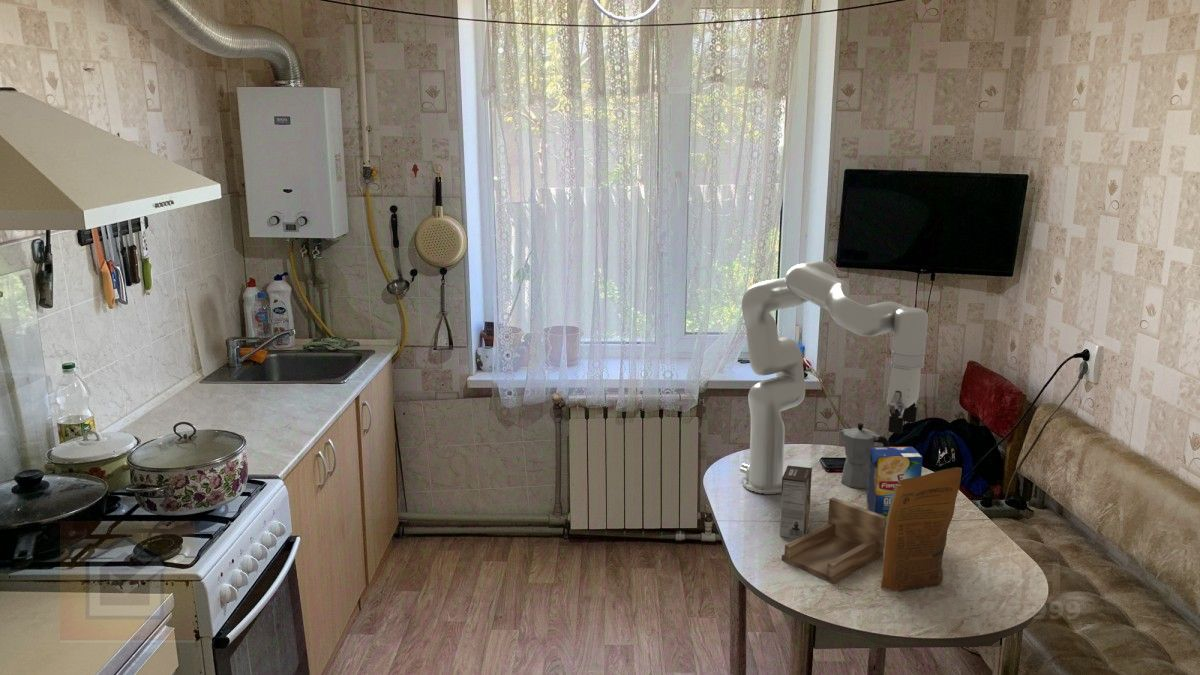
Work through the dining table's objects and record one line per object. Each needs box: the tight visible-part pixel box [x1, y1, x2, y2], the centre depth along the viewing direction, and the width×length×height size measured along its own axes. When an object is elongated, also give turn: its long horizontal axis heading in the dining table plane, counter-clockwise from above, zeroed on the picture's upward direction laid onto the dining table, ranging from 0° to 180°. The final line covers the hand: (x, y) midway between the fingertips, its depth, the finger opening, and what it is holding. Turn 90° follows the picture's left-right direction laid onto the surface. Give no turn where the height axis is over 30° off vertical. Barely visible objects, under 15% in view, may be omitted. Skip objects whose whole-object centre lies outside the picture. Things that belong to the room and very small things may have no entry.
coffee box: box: [779, 465, 813, 539], centre depth 228 cm, size 9×6×16 cm
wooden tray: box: [781, 497, 886, 584], centre depth 215 cm, size 15×20×10 cm
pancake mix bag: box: [880, 466, 963, 592], centre depth 200 cm, size 7×19×28 cm, turn 106°
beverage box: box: [865, 446, 924, 540], centre depth 226 cm, size 7×11×22 cm, turn 91°
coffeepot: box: [837, 422, 891, 489], centre depth 257 cm, size 15×9×18 cm, turn 51°
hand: (902, 427), depth 219 cm, fingers open, 9 cm apart
